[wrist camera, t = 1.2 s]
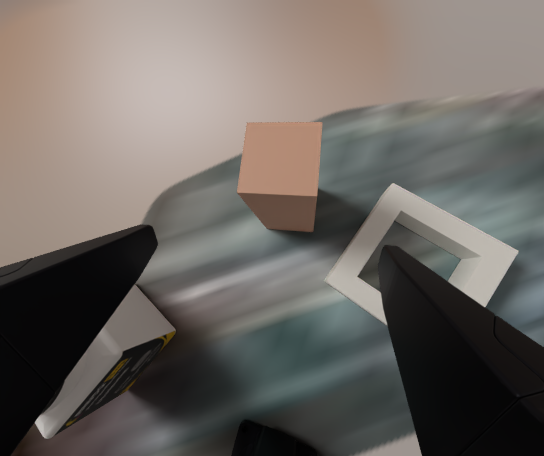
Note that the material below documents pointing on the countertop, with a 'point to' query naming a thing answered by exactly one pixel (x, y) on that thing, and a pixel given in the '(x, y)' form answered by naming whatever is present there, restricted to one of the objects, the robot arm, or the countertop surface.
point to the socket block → (434, 227)
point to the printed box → (109, 363)
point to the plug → (281, 173)
